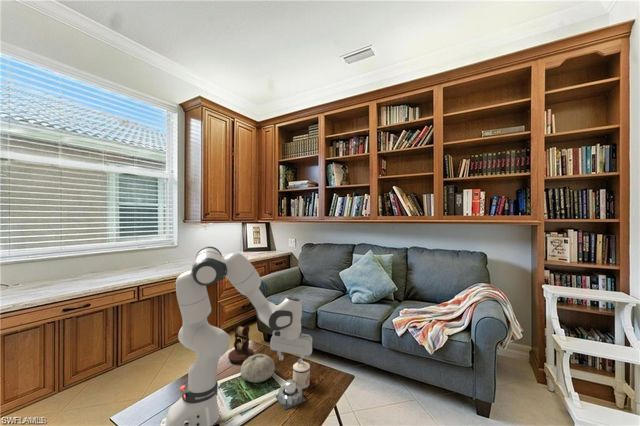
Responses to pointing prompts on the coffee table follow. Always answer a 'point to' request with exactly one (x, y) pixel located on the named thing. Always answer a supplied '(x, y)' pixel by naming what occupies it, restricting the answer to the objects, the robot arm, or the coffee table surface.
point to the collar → (290, 398)
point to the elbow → (290, 387)
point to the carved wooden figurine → (241, 345)
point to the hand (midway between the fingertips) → (290, 361)
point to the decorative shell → (257, 368)
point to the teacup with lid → (302, 374)
